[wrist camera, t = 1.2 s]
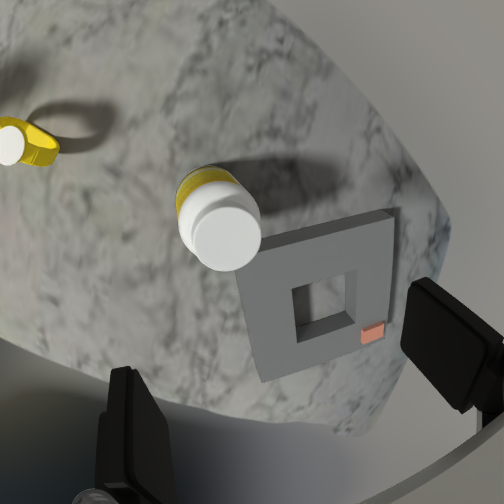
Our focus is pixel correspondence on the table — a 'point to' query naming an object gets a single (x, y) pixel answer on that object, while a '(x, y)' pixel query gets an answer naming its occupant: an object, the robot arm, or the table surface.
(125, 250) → the table surface
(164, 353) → the table surface
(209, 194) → the supplement bottle
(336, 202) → the table surface
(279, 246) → the block with square hole
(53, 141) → the watch
